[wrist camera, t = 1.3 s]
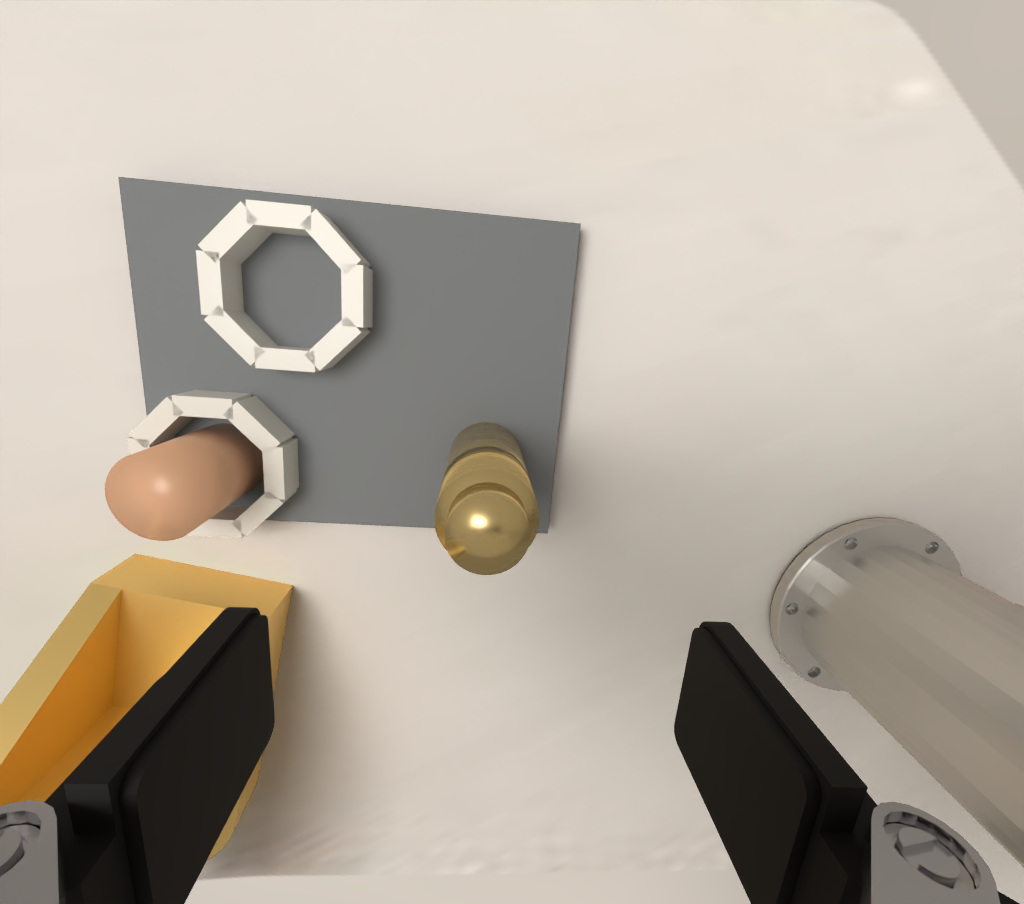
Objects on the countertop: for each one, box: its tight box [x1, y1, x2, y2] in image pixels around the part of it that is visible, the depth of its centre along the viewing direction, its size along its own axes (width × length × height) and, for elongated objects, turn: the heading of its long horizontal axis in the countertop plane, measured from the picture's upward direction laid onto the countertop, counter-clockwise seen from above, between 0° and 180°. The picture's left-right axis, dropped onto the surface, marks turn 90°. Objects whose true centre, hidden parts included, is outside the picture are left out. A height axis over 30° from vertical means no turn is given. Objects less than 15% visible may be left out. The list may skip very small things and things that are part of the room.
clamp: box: [0, 554, 293, 860], centre depth 23 cm, size 20×9×16 cm, turn 165°
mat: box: [119, 177, 581, 533], centre depth 26 cm, size 22×17×1 cm
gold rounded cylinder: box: [434, 422, 539, 575], centre depth 22 cm, size 4×4×10 cm
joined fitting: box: [105, 390, 299, 541], centre depth 23 cm, size 7×7×6 cm
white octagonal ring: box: [196, 199, 373, 372], centre depth 23 cm, size 7×7×2 cm
